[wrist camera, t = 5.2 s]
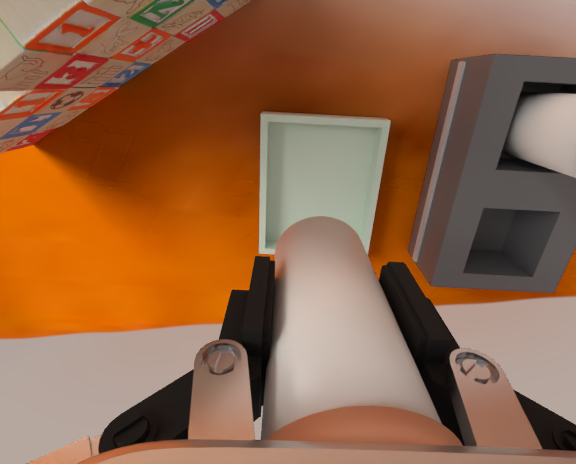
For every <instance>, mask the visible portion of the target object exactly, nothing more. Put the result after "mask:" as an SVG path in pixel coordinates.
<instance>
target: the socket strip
mask: <svg viewBox="0 0 576 464" xmlns="http://www.w3.org/2000/svg"><path fill="white" fill-rule="evenodd" d="M521 91H522V92H545V93H568V94H576V58H565V57H546V56H527V55H508V54H490V55H483V56H476V57H469V58H462V59H455V60H451V65H450V69H449V73H448V78H447V82H446V87H445V91H444V95H443V100H442V104H441V108H440V113H439V117H438V121H437V126H436V130H435V135H434V139H433V143H432V148H431V152H430V156H429V161H428V165H427V169H426V174H425V178H424V183H423V187H422V191H421V196H420V200H419V204H418V209H417V213H416V217H415V222H414V226H413V231H412V235H411V239H410V244H409V248H408V252H409V253H410V255H411V257H412V259H413V260H414V262H415V263H416V264H417V266H418V267H419V269H420V270H421V272H422V274H423V275H424V277H425V278H426V280H427V281H428V283H429V284H430V286H435V287H453V288H470V289H488V290H506V291H524V292H542V293H554V292H555V290H556V288H557V286H558V283H559V281H560V279H561V277H562V275H563V273H564V271H565V269H566V266H567V264H568V262H569V260H570V258H571V256H572V254H573V252H574V249H575V247H576V178H574V177H571V176H568V175H565V174H563V173H560V172H557V171H554V170H551V169H548V168H545V167H542V166H539V165H537V164H534V163H531V162H528V161H525V160H522V159H519V158H516V157H514V156H511V155H508V154H505V153H502V149H503V146H504V143H505V140H506V136H507V133H508V130H509V127H510V124H511V121H512V118H513V114H514V111H515V108H516V105H517V102H518V99H519V96H520V93H521Z"/></svg>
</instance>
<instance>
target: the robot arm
mask: <svg viewBox="0 0 576 464" xmlns="http://www.w3.org/2000/svg"><path fill="white" fill-rule="evenodd" d="M379 282H380V285H381V287H382V289H383V292H384V294H385V296H386V298H387V301H388V303H389V305H390V307H391V310H392V312H393V314H394V316H395V319H396V321H397V323H398V326H399V328H400V330H401V332H402V335H403V337H404V339H405V341H406V344H407V346H408V348H409V350H410V353H411V355H412V357H413V359H414V362H415V364H416V366H417V369H418V371H419V373H420V375H421V378H422V380H423V382H424V384H425V387H426V389H427V391H428V393H429V396H430V398H431V400H432V403H433V405H434V407H435V409H436V412H437V414H438V416H439V418H440V421H441V423H442V425H444V426H445V427H447V428H448V429H449V430H450V431H452V432H453V433H454V434H455V436H456V437H457V438H458V439H459V440H460V442H461V443H462V445H463V446H448V445H419V444H388V443H355V442H319V441H280V440H255V433H254V423H253V422H254V421H255V420H256V419H258V418H259V417H260V416H261V406H263V404H264V391H265V378H266V368H267V364H268V361H269V357H270V342H271V327H272V312H273V297H274V283H275V261H270V257H262V256H255V261H254V267H253V272H252V278H251V283H250V289H249V290H232V292H231V295H230V299H229V303H228V306H227V310H226V314H225V318H224V322H223V325H222V330H221V333H220V337H219V340H216V341H212V342H210V343H208V344H206V345H205V346H204V347H202V348H201V349H200V350H199V352H198V353H197V355H196V358H195V363H194V369H193V370H192V371H190V372H188V373H187V374H185V375H183V376H182V377H180V378H179V379H177V380H175V381H174V382H172V383H171V384H169V385H167V386H166V387H165V388H162V389H161V390H159V391H158V392H156V393H154V394H153V395H151V396H149V397H148V398H146V399H145V400H143V401H142V402H140V403H138V404H137V405H135V406H133V407H132V408H130V409H129V410H127V411H125V412H124V413H122V414H120V415H119V416H118V417H116V418H115V419H114V420H113V421H112V422H111V423H110V424H109V425H108V426H107V427H106V429H105V430H104V432H103V434H101V435H99V436H97V437H95V438H93V439H91V440H90V438H89V436H86V437H84V438H82V439H80V440H77V441H76V442H73V443H71V444H69V445H66V446H64V447H62V448H60V449H58V450H55V451H53V452H51V453H49V454H47V455H44V456H42V457H40V458H38V459H36V460H34V461H31V462H29V463H27V464H576V425H575V424H573V423H571V422H570V421H568V420H566V419H564V418H563V417H561V416H559V415H557V414H555V413H554V412H552V411H550V410H548V409H547V408H545V407H543V406H541V405H540V404H538V403H536V402H534V401H533V400H531V399H529V398H527V397H525V396H524V395H522V394H520V393H518V392H517V391H515V390H513V389H512V387H511V385H510V383H509V381H508V379H507V377H506V375H505V373H504V371H503V370H502V368H501V367H500V365H499V364H498V363H496V362H495V361H494V360H493V359H492V358H490V357H489V356H487V355H486V354H483V353H481V352H479V351H477V350H472V349H469V348H460V347H459V346H458V344H457V342H456V341H455V339H454V338H453V336H452V334H451V333H450V331H449V330H448V328H447V326H446V325H445V323H444V321H443V320H442V318H441V317H440V315H439V314H438V312H437V310H436V309H435V307H434V305H433V304H432V302H431V301H430V300H429V299H428V298H426V297H425V295H424V294H423V292H422V291H421V289H420V287H419V286H418V284H417V282H416V281H415V279H414V277H413V276H412V274H411V272H410V271H409V269H408V268H407V266H406V264H405V263H403V262H388V263H387V265H383V266H382V269H381V273H380V278H379Z"/></svg>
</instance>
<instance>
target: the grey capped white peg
mask: <svg viewBox="0 0 576 464" xmlns="http://www.w3.org/2000/svg"><path fill="white" fill-rule="evenodd" d="M502 153H505V154H508V155H511V156H514V157H516V158H519V159H522V160H525V161H528V162H531V163H534V164H537V165H539V166H542V167H545V168H548V169H551V170H554V171H557V172H560V173H563V174H565V175H568V176H571V177H574V178H576V94H568V93H545V92H522V91H521V93H520V96H519V99H518V102H517V105H516V108H515V111H514V114H513V118H512V121H511V124H510V127H509V130H508V133H507V136H506V140H505V143H504V146H503V149H502Z"/></svg>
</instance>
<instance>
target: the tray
mask: <svg viewBox="0 0 576 464" xmlns="http://www.w3.org/2000/svg"><path fill="white" fill-rule="evenodd" d="M390 123H391V120H388V119H386V118H380V117H362V116H343V115H324V114H306V113H287V112H268V111H263V112H262V113H261V126H260V207H259V254H275V249H276V246H277V243H278V241H279V239H280V237H281V236H282V234H283V233H284V232H285V231H286V230H287V229H288V228H289V227H290V226H292V225H293V224H294V223H296V222H298V221H300V220H303V219H305V218H309V217H315V216H327V217H332V218H336V219H339V220H341V221H343V222H345V223H347V224H348V225H349V226H351V227H352V228H353V229H354V230H355V231H356V233H357V234H358V236H359V238H360V239H361V242H362V244H363V246H364V248H365V251H366V253H367V255H368V251H369V245H370V239H371V234H372V228H373V222H374V216H375V210H376V205H377V199H378V193H379V187H380V181H381V175H382V170H383V164H384V158H385V152H386V146H387V141H388V135H389V129H390Z"/></svg>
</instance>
